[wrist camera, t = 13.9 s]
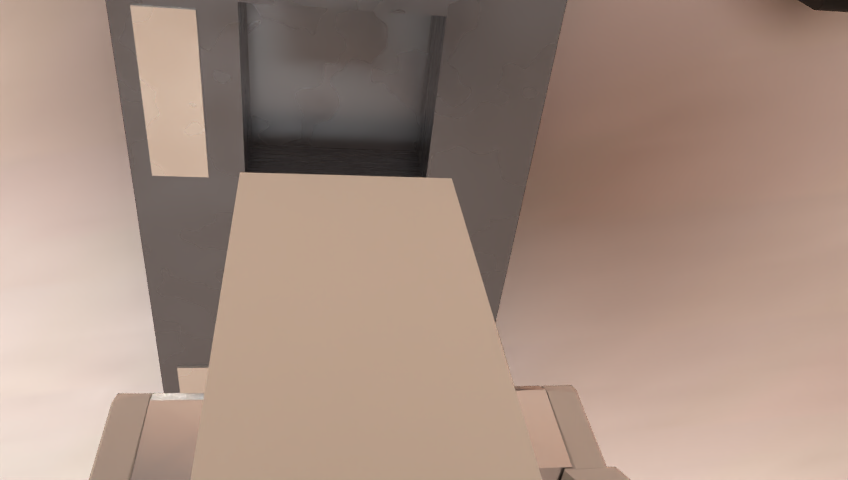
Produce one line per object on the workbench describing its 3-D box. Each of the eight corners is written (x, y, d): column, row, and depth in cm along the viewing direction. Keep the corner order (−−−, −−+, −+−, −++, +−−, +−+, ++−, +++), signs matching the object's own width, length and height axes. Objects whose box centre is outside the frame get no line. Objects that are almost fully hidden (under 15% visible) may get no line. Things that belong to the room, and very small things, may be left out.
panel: (562, -144, 20) (596, -124, 18) (446, 449, 35) (455, 504, 33) (110, -193, 18) (77, -178, 16) (191, 456, 33) (181, 516, 31)
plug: (451, 178, 14) (588, 631, 7) (428, 330, 16) (514, 784, 9) (239, 172, 13) (160, 667, 6) (247, 331, 16) (195, 820, 9)
